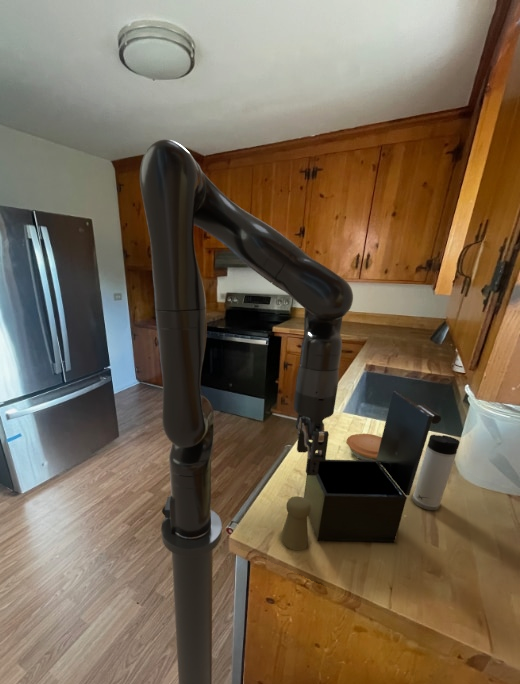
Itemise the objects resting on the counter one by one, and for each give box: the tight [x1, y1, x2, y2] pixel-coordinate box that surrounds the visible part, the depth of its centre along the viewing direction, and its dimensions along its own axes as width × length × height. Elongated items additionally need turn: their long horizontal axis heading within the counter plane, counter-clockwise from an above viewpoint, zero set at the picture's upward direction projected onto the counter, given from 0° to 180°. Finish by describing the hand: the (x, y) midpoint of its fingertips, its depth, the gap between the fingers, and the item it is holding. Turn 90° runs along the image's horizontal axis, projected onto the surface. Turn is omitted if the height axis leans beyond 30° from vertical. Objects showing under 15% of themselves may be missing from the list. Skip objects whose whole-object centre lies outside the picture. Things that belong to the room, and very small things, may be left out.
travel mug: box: [412, 434, 461, 511], centre depth 84 cm, size 6×7×20 cm
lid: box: [377, 390, 442, 496], centre depth 73 cm, size 19×15×6 cm
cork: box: [280, 495, 311, 551], centre depth 73 cm, size 6×6×11 cm
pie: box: [346, 433, 382, 462], centre depth 111 cm, size 15×16×5 cm
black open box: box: [303, 459, 408, 544], centre depth 80 cm, size 18×15×13 cm
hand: (306, 462), depth 68 cm, fingers open, 8 cm apart
